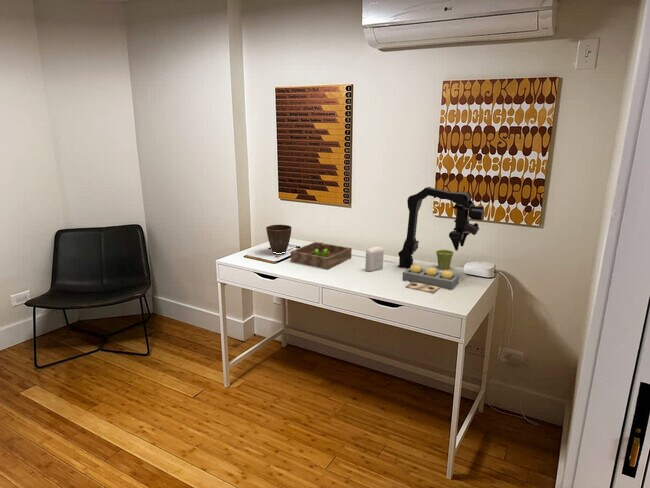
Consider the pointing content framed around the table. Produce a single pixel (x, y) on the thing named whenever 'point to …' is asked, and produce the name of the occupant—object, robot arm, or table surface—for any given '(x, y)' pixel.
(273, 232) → the plant pot
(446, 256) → the plant pot
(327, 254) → the plant
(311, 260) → the brown wooden tray
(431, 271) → the button
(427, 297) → the table surface
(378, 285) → the table surface
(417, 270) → the button
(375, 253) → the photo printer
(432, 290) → the card
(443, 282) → the board
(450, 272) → the button
